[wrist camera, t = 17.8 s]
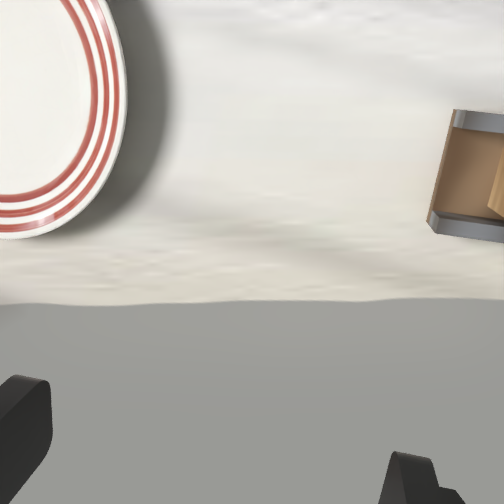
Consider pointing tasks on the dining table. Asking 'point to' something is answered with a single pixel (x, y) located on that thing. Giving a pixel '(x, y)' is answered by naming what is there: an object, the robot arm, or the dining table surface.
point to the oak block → (498, 189)
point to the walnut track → (469, 178)
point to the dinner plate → (57, 110)
